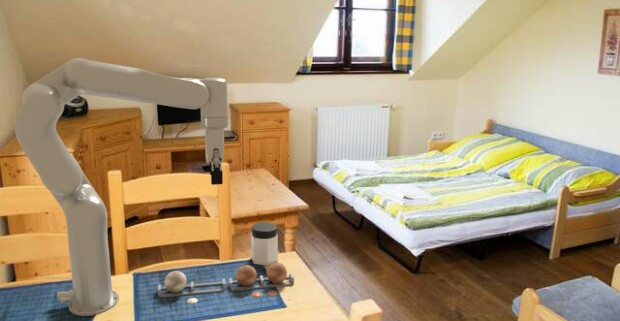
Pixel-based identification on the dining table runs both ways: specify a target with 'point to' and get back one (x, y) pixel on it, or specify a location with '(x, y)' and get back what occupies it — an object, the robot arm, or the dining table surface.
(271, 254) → the jar
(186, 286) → the grey ball rail
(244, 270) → the terracotta ball
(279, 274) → the terracotta ball
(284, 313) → the dining table surface
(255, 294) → the tiles
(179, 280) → the cream ball
